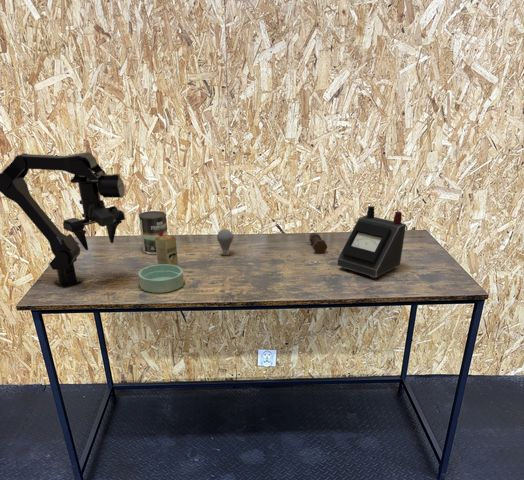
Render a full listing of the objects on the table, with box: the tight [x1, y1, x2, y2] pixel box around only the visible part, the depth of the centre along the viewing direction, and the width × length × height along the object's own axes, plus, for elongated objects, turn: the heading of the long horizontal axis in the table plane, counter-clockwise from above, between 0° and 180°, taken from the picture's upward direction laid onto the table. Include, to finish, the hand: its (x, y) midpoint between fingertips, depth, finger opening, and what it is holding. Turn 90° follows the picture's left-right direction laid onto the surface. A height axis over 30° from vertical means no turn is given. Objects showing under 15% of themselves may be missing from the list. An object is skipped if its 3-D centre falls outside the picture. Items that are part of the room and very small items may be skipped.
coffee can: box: [138, 210, 169, 255], centre depth 192 cm, size 10×10×14 cm
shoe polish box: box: [155, 234, 179, 267], centre depth 174 cm, size 5×5×12 cm
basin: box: [138, 264, 185, 294], centre depth 165 cm, size 14×14×4 cm
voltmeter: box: [336, 205, 407, 280], centre depth 173 cm, size 16×16×20 cm
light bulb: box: [216, 228, 234, 256], centre depth 188 cm, size 6×6×10 cm
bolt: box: [308, 232, 328, 255], centre depth 197 cm, size 6×5×15 cm
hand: (99, 246), depth 160 cm, fingers open, 9 cm apart
